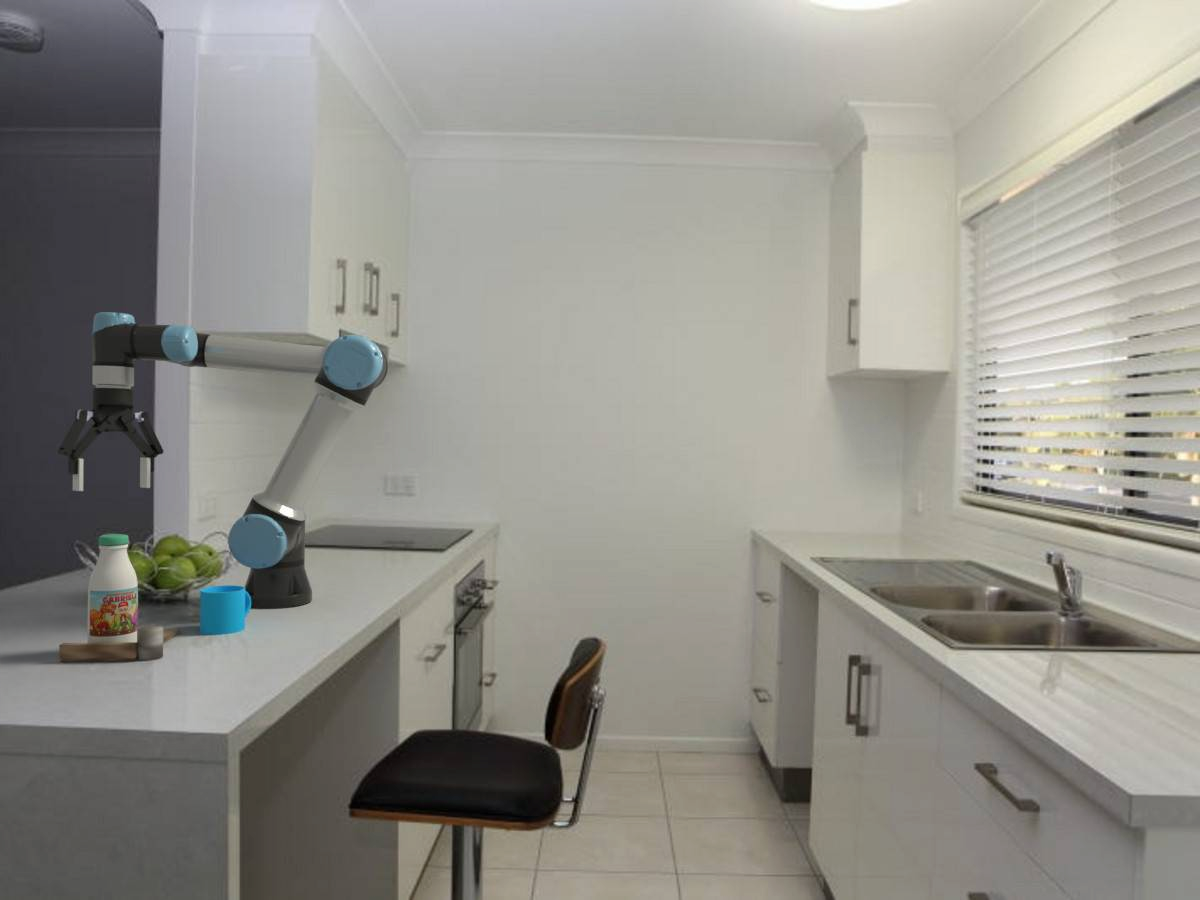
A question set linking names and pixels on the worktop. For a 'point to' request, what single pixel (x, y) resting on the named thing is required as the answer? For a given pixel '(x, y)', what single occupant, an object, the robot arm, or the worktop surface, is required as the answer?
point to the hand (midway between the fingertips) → (112, 489)
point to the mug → (223, 609)
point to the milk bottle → (113, 594)
